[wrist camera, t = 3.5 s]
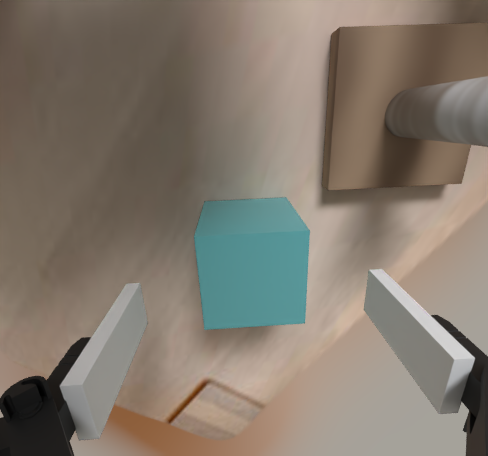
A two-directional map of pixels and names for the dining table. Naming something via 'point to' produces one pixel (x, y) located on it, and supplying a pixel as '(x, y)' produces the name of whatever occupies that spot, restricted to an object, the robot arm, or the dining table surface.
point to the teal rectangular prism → (252, 263)
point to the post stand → (404, 104)
